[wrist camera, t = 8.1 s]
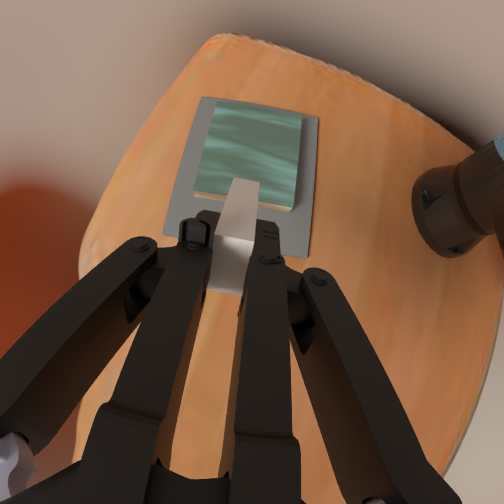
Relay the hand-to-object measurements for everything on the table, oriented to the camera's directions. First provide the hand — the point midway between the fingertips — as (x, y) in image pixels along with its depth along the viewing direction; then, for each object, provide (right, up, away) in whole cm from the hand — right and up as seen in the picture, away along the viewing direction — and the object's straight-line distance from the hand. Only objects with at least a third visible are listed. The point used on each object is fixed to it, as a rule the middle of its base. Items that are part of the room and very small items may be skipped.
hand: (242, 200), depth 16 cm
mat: (0, +8, +20) cm, 22 cm away
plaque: (-1, +3, +17) cm, 18 cm away
